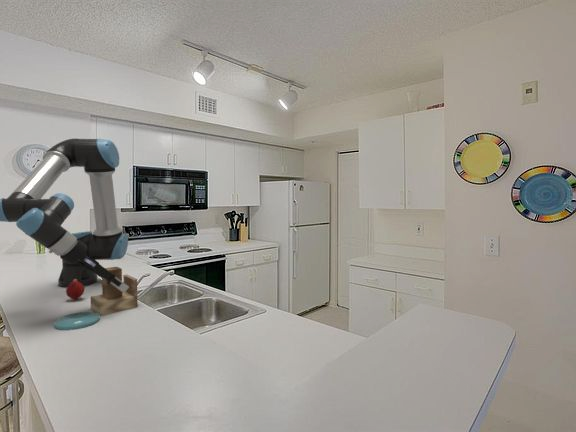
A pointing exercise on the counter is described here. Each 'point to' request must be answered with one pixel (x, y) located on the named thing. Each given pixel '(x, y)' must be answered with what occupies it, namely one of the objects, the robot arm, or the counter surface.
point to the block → (109, 289)
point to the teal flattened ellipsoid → (76, 320)
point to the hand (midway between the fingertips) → (123, 288)
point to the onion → (75, 289)
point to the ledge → (117, 299)
